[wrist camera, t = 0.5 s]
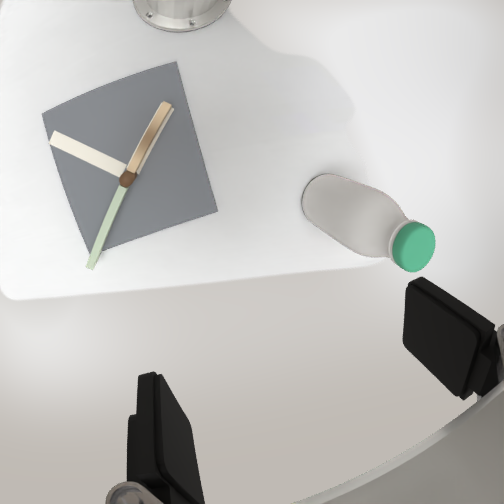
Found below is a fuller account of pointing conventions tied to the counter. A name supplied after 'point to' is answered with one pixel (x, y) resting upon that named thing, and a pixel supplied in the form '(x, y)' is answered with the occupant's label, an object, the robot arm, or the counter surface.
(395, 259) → the milk bottle
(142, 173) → the board
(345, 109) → the counter surface
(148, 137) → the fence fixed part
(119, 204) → the fence hinged panel
